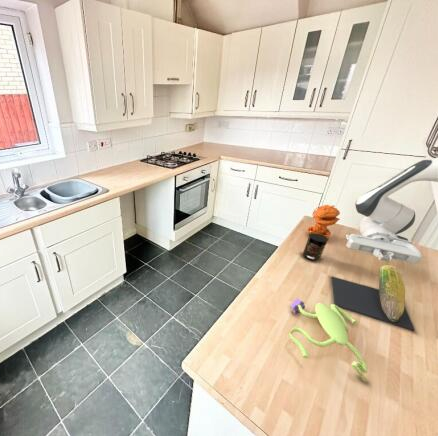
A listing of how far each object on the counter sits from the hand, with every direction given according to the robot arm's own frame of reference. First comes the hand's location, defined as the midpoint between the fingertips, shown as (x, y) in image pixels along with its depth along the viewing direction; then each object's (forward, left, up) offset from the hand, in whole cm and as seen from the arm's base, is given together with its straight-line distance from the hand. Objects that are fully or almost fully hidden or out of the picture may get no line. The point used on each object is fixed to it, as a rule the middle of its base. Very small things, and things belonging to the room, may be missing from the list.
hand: (385, 259), depth 84 cm
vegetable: (-2, -1, -3) cm, 4 cm away
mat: (+2, +9, -13) cm, 16 cm away
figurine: (+16, +33, -13) cm, 38 cm away
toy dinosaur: (+16, -30, -13) cm, 37 cm away
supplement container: (+19, -10, -13) cm, 25 cm away
